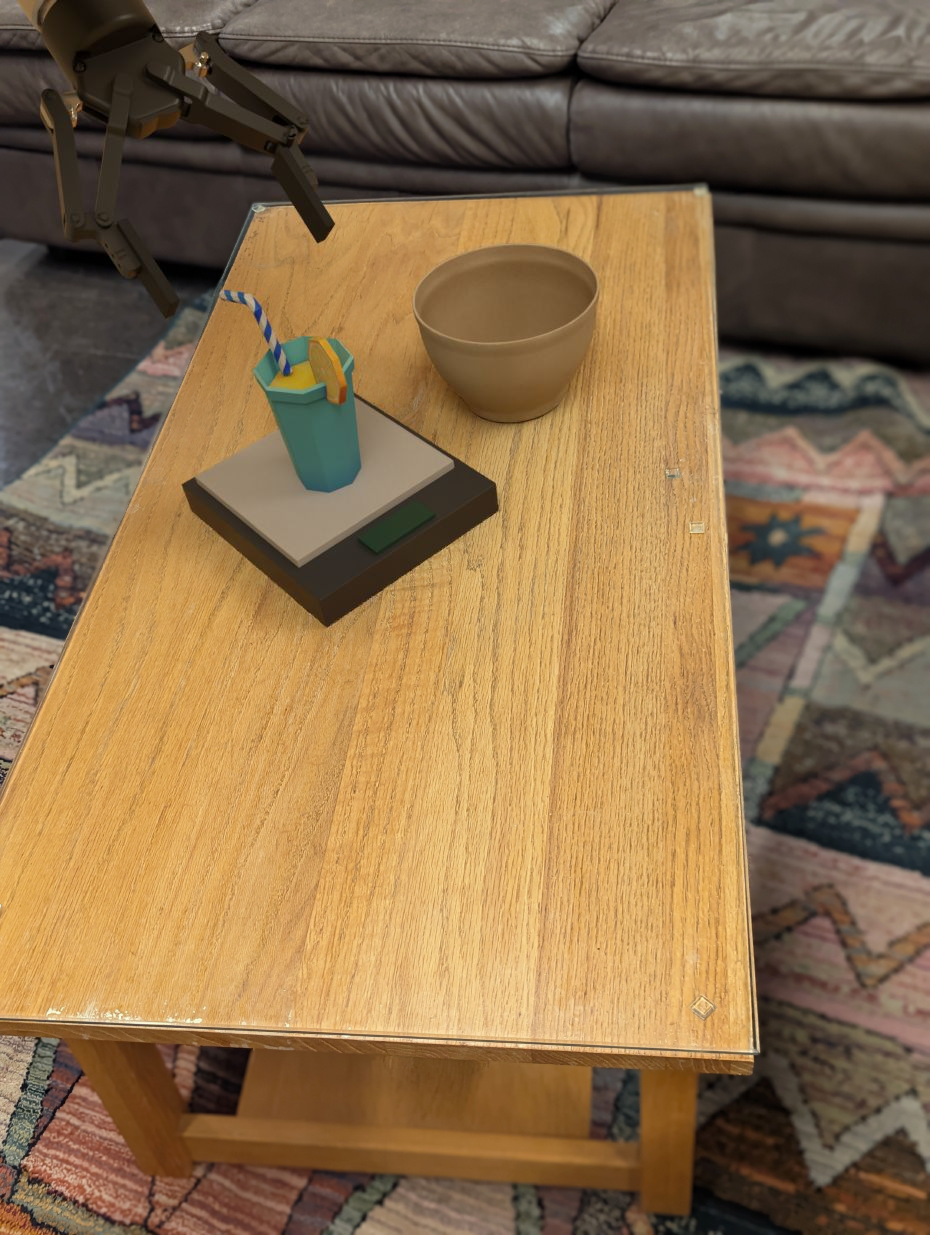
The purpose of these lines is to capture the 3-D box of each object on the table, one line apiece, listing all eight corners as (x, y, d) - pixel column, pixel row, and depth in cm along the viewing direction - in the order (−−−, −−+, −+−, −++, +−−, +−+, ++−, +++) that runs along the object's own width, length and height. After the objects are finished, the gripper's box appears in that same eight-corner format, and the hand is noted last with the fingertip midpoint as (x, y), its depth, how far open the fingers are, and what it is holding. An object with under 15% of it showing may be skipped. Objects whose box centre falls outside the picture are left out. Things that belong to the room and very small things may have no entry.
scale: (326, 627, 82) (317, 593, 80) (190, 510, 94) (178, 477, 91) (499, 510, 90) (495, 475, 87) (353, 414, 101) (346, 380, 98)
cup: (232, 464, 91) (180, 306, 80) (297, 416, 95) (256, 260, 84) (349, 526, 84) (310, 363, 73) (414, 472, 88) (387, 309, 77)
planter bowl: (475, 332, 108) (464, 230, 100) (626, 362, 102) (627, 256, 94) (396, 425, 99) (377, 321, 91) (557, 465, 93) (552, 357, 85)
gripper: (221, -11, 85) (369, 227, 87) (-80, 98, 75) (97, 362, 77) (241, -79, 78) (401, 181, 80) (-87, 31, 68) (107, 324, 70)
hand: (252, 271), depth 79 cm, fingers open, 13 cm apart
